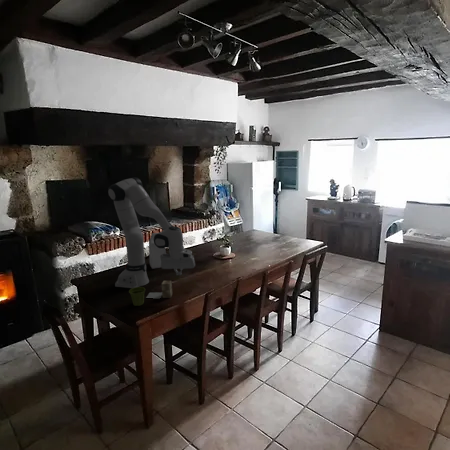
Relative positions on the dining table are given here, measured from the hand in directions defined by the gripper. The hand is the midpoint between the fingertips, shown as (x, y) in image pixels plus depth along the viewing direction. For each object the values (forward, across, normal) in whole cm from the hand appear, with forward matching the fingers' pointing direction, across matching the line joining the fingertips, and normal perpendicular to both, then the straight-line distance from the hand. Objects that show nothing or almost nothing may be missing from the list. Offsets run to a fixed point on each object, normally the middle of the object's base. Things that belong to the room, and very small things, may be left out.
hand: (179, 274), depth 199 cm
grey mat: (+14, -17, 0) cm, 21 cm away
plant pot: (+13, -24, -11) cm, 29 cm away
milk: (+14, -29, +54) cm, 63 cm away
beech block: (+14, -9, 0) cm, 16 cm away
